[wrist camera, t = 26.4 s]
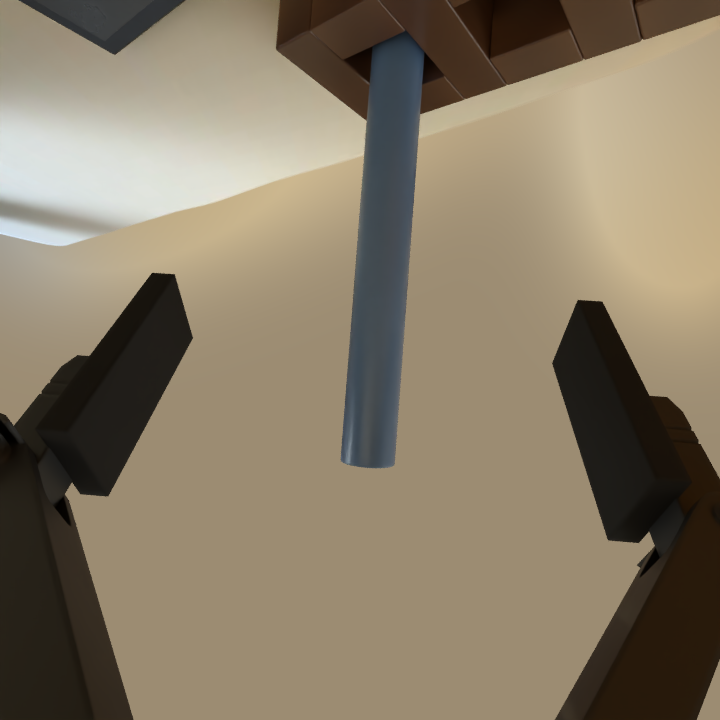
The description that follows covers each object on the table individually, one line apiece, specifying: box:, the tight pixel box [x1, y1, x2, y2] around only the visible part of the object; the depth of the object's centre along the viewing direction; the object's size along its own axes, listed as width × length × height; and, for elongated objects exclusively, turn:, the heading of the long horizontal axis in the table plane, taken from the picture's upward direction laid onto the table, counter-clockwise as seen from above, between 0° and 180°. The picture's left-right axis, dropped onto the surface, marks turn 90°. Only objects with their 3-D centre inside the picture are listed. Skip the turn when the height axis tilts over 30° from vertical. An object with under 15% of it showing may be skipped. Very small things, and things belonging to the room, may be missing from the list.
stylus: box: [341, 30, 424, 468], centre depth 18 cm, size 2×2×18 cm
